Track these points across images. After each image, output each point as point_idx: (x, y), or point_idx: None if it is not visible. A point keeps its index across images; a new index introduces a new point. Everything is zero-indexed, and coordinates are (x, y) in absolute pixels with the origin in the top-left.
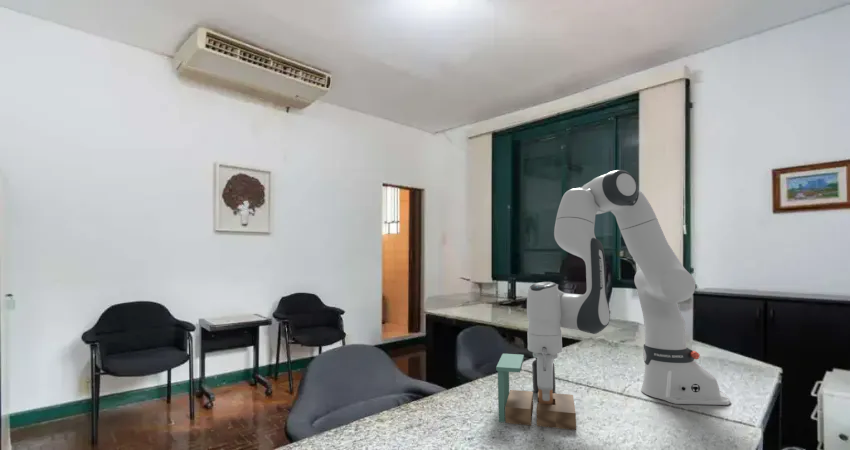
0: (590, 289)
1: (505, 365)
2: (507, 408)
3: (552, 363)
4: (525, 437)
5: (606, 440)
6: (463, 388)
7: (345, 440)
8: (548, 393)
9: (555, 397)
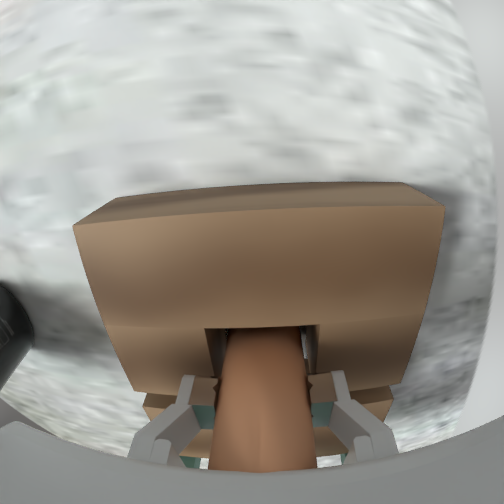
0: None
1: None
2: None
3: (17, 472)
4: (459, 345)
5: (464, 70)
6: None
7: None
8: (356, 406)
9: (174, 326)
